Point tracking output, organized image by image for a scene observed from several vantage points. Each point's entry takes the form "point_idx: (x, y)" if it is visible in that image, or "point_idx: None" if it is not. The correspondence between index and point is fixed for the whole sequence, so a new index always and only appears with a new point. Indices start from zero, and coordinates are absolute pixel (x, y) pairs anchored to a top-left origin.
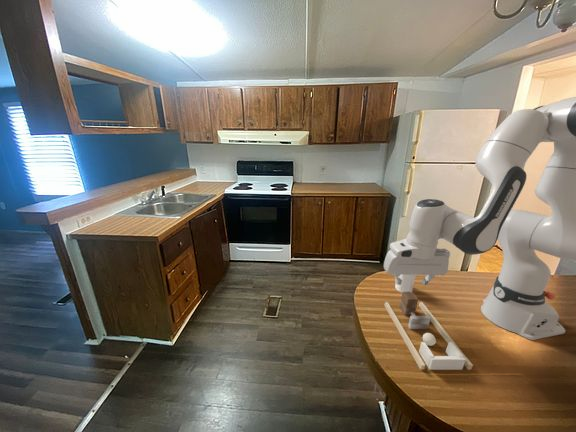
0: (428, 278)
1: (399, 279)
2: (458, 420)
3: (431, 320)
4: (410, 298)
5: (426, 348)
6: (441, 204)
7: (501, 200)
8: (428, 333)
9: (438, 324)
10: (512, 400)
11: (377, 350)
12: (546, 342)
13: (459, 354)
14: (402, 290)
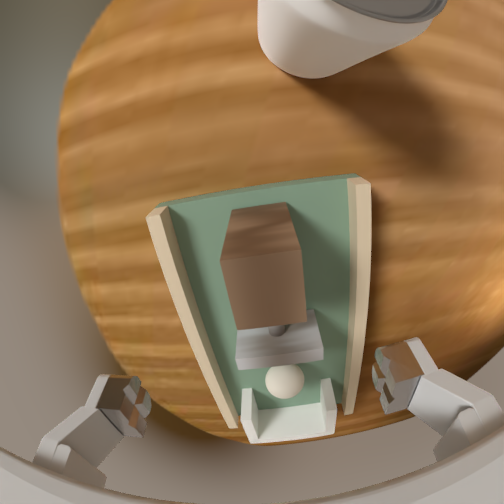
0: (430, 414)
1: (120, 426)
2: (267, 442)
3: (352, 286)
4: (256, 321)
5: (247, 430)
6: None
7: None
8: (283, 390)
9: (359, 323)
10: (380, 411)
11: (138, 373)
12: None
13: (328, 429)
14: (290, 67)
